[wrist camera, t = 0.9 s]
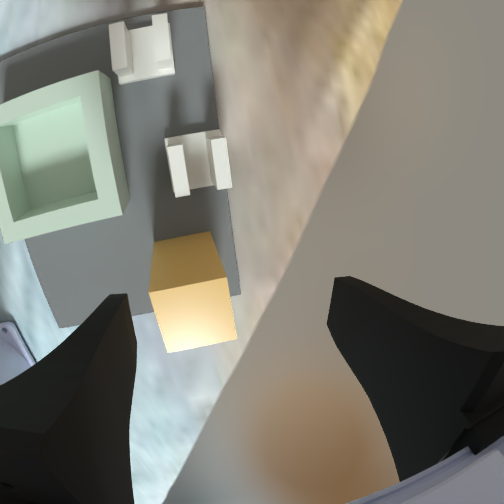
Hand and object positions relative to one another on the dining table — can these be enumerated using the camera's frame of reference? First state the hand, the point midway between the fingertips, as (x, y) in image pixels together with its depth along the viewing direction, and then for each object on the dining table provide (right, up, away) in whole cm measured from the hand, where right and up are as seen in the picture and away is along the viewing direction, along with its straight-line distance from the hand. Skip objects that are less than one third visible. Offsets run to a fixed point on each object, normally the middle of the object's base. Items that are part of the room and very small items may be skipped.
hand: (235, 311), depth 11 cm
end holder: (-10, +7, +4) cm, 13 cm away
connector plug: (-3, +1, +9) cm, 9 cm away
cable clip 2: (-3, +7, +6) cm, 10 cm away
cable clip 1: (-5, +13, +3) cm, 14 cm away
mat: (-8, +6, +6) cm, 12 cm away
